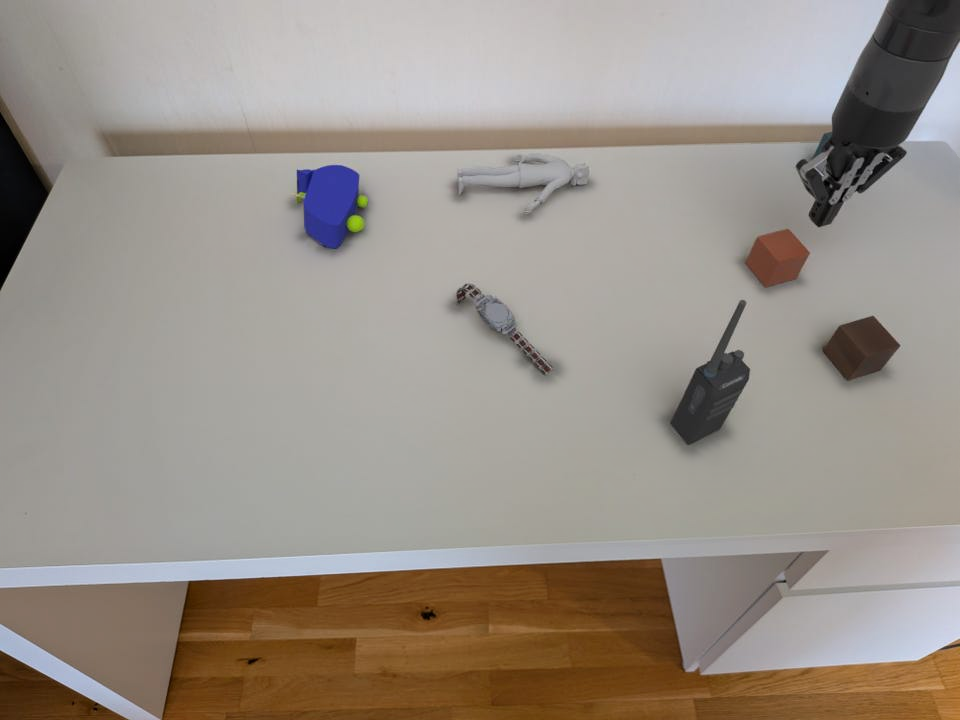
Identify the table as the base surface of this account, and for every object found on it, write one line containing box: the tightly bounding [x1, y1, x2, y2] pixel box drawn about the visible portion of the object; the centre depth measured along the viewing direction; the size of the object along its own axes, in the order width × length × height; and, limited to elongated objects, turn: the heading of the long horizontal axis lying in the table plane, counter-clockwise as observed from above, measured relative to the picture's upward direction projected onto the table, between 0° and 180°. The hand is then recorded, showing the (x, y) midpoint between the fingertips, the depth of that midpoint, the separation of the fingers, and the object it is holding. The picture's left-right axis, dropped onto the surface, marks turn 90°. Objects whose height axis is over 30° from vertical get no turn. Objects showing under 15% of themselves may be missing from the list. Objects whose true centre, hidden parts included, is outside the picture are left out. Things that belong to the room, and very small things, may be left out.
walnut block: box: [822, 315, 902, 381], centre depth 75 cm, size 4×4×4 cm
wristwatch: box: [455, 283, 554, 376], centre depth 78 cm, size 4×14×5 cm, turn 45°
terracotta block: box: [745, 228, 811, 288], centre depth 83 cm, size 4×4×4 cm
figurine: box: [457, 153, 590, 215], centre depth 93 cm, size 12×4×18 cm
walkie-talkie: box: [670, 299, 751, 445], centre depth 63 cm, size 5×3×20 cm
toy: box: [291, 164, 369, 249], centre depth 89 cm, size 12×6×10 cm
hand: (819, 221), depth 80 cm, fingers closed
